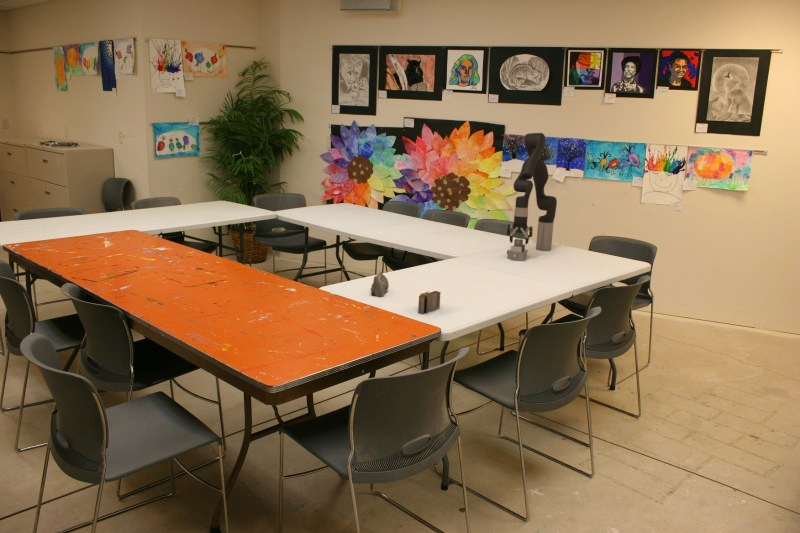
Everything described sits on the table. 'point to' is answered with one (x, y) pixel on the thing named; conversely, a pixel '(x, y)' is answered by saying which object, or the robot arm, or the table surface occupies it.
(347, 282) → the table surface
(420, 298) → the brown flat block
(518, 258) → the motor
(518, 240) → the pump
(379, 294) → the mineral rock
